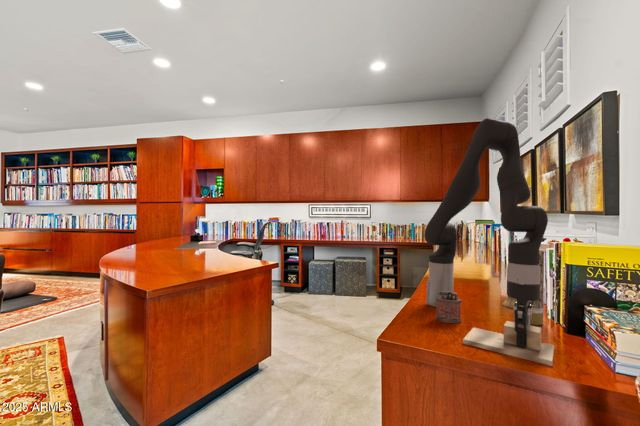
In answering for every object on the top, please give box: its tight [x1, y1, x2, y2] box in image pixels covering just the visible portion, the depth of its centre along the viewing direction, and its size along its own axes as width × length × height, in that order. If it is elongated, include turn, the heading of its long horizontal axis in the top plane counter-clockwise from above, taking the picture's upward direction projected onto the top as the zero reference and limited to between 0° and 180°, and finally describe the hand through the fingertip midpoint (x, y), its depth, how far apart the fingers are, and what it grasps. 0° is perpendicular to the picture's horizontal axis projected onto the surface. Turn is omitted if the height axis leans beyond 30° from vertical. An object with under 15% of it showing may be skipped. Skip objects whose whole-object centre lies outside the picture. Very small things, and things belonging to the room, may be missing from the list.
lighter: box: [435, 291, 462, 324], centre depth 106 cm, size 8×3×10 cm, turn 71°
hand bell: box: [502, 295, 517, 309], centre depth 124 cm, size 8×8×16 cm
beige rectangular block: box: [503, 320, 542, 353], centre depth 83 cm, size 8×5×5 cm, turn 51°
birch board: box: [462, 326, 555, 367], centre depth 85 cm, size 20×12×1 cm, turn 51°
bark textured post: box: [530, 248, 545, 326], centre depth 105 cm, size 7×7×25 cm
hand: (522, 343), depth 83 cm, fingers closed on beige rectangular block, 5 cm apart
